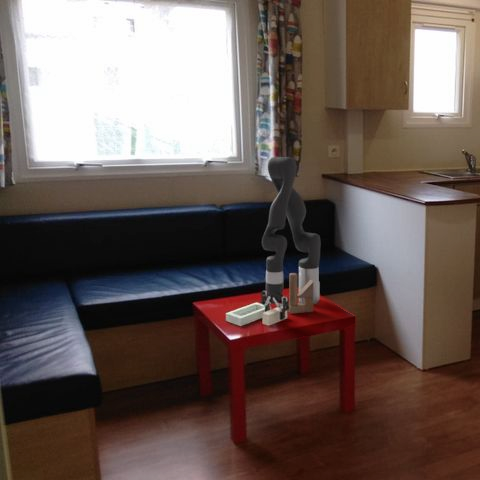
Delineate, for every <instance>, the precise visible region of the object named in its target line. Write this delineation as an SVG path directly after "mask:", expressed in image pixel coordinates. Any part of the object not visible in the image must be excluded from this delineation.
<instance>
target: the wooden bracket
mask: <svg viewBox="0 0 480 480" xmlns="http://www.w3.org/2000/svg"><path fill="white" fill-rule="evenodd" d="M288 275H289V276H288V277H289V278H288V279H289V280H288V282H289V283H288V284H289V285H288V286H289V290H288V291H289V293H288V294H289V296H288V297H289V310H287V312H288V313H289V314H302V313H303V314H304V313H313V312H314V304H313V281H312V280H310V281H309V282H308V283H307V284H306V285H305V286H304V287H303V289H302V290H301V291H300V292H299V291H298V273H296V272H291V273H289V274H288ZM299 298H304V304H302V303H300V302H298V299H299Z"/></svg>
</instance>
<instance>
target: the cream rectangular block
mask: <svg viewBox="0 0 480 480" xmlns="http://www.w3.org/2000/svg"><path fill="white" fill-rule="evenodd" d="M281 308H282V307H281ZM261 319H262V324H263V325H265V326H271V325H274V324H276V323H279V322H281V321H284V320H286V319H288V310H287V311H285V318H284V319H283V320H280V310H279V308H278V307H277V306H276V307H275V308H271V310H269V311H266V312H264V313H262V318H261Z"/></svg>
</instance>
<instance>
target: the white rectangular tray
mask: <svg viewBox="0 0 480 480" xmlns="http://www.w3.org/2000/svg"><path fill="white" fill-rule="evenodd" d="M270 310H272V306H270ZM264 312H265V306H264V305H262V304H261V302H260V303H259V302H254V303H251V304H249V305H248V304H247V305H246V306H245V305H244V306H243V307H239V308H237V309H234V310H231V311H229V312H226V313H225V321H226V322H229V323H231V324H233V325H236V326H239V327H242V326H245V325H248V324H250V323H252V322H255V321H257V320H260V319H262V313H264Z"/></svg>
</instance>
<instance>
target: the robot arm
mask: <svg viewBox="0 0 480 480" xmlns="http://www.w3.org/2000/svg"><path fill="white" fill-rule="evenodd" d="M297 169H298V168H297V161H296V160H295V158H294V157H291V156H273V157H271V158H270V159H269V160H268V162H267V171H268V175H269V177H270V179H271V181H272V183H273V186H274V188H275V189H276V191H277V196H276V197H275V198H274V200H273V202H272V203H271V205H270V209H269V214H268V223H267V226H266V228H265V231H264V233H263V236H262V238H261V245H262V246H261V247H262V248H263V250H265V251H268V252H275V254H274V255H270V256H267V258H266V260H265V263H266V265H265V267H266V268H265V269H266V270H265V290H262V291H261V292H260V295H261V296H260V304H262V305H264V306H265V312H266V311H269V310H270V307H271V304H274V306H275V305H276V308H277V307H278V308H279V310H280V320H281V321H284V320H285V319H284V318H285V311H287V312H288V310H289V296H284V295H283V293H284V289H285V287H284V286H285V285H284V280H285V279H284V258H285V255H286V254H285V253H286V250H287V247H288V240H287V238H286V237H285V236H284V235H282V234H281V235H280V234H275V233H276V231H278V230H283V229H285V226H286V220H288V224H289V227H290V231H291V234H292V239H293V243H294V246H295V248H296V251H299V252H302V253H308V255H307V257H305V258H301V259H300V260H299V261H298V293H299V292H300V291H301V290H302V289H303V287H304V286H305V285H306V284H307V283H308V282H309V281H310V280H312V281H313V305H316V304H318V303H319V301H320V295H321V293H320V288H321V287H320V286H321V285H320V284H321V283H320V281H319V273H320V271H319V269H320V268H319V267H320V265H319V264H320V260H321V244H322V243H321V236H320V235H319V234H317V233H314V232H313V233H312V232H306V231H305V230H304V228H303V222H304V220H305V217H306V214H307V208H306V205H305V202H304V200H303V197H302V195H300V193H299V192H298V191H297V190H296V189H295V188H294V181H295V178H296V174H297ZM298 303H302V304H304V298H298ZM281 307H282V308H281ZM283 319H284V320H283Z"/></svg>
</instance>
